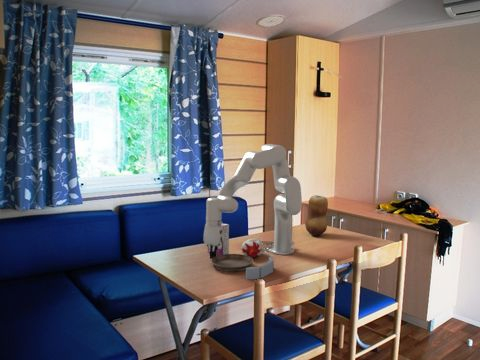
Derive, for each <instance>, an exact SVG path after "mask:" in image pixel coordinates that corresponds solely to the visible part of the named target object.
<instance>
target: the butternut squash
mask: <svg viewBox="0 0 480 360" xmlns="http://www.w3.org/2000/svg"><path fill="white" fill-rule="evenodd" d="M307 205H308V206H307V218H306V221H305V224H304V226H305V230H306V231H307V232H308V234H309V235H310V236H312V235H313V236H316V235H317V236H321V235H323V234H324V233H326V231H327V228H328V222H327V217H326V215H327V211H328V207H329V206H328V205H329V203H328V198H327V197H326V196H323V195H316V194H315V195H314V194H313V195H312V196H310V198H309V200H308V204H307ZM313 236H312V237H313Z"/></svg>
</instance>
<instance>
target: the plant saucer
mask: <svg viewBox="0 0 480 360" xmlns="http://www.w3.org/2000/svg"><path fill="white" fill-rule="evenodd" d="M253 258H254V257H249V256H246V255H244V254H241V253H229V254H224V255H216V257H214V258H212V259H211V260H210V261H211V264H212V265H213V266H214V267H215V268H216V269H218V270H220V271H224V272H241V271H244V270H245V271H246V268H249V267H250V266H251V267H252V264H253V263H254V259H253Z"/></svg>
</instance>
